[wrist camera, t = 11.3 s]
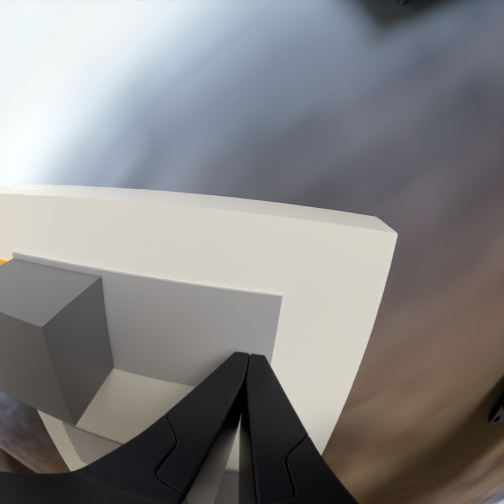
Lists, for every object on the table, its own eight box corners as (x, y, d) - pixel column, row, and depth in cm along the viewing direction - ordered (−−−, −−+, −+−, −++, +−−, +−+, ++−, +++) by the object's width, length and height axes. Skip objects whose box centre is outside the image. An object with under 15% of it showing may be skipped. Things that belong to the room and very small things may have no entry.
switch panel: (376, 216, 10) (399, 234, 8) (267, 532, 18) (266, 551, 16) (14, 184, 10) (-20, 193, 8) (108, 498, 19) (101, 515, 17)
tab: (101, 276, 9) (41, 327, 6) (113, 367, 10) (75, 426, 7) (13, 257, 9) (-45, 292, 6) (31, 340, 10) (-12, 383, 7)
